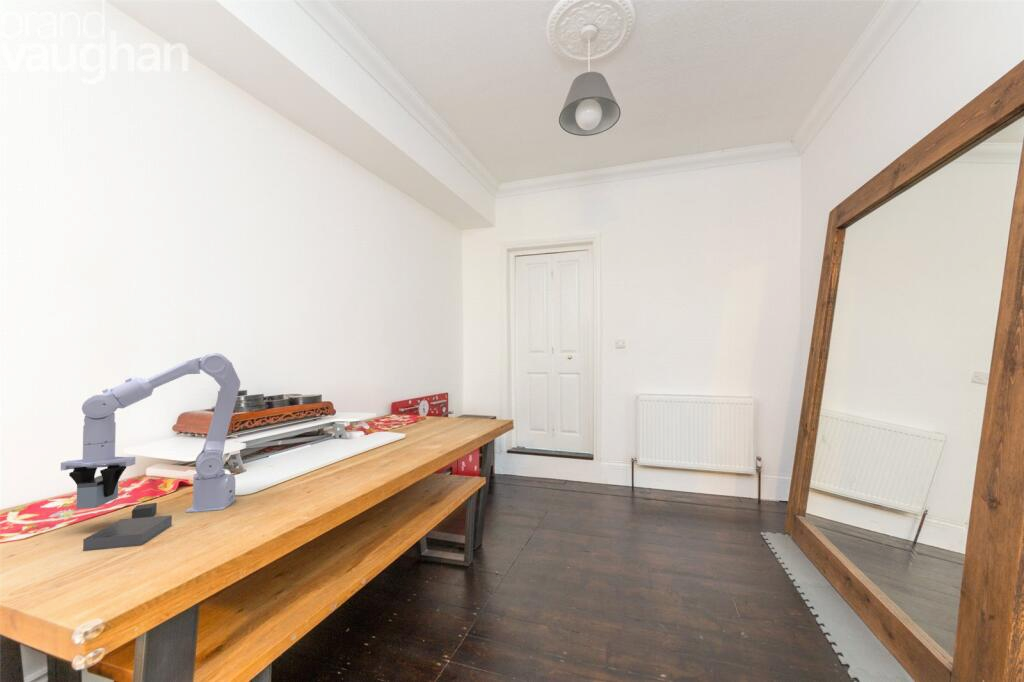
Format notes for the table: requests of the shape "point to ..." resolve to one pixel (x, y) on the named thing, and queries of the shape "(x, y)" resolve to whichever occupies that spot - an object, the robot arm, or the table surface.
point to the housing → (93, 493)
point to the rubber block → (144, 510)
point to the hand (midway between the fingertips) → (98, 496)
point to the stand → (127, 532)
